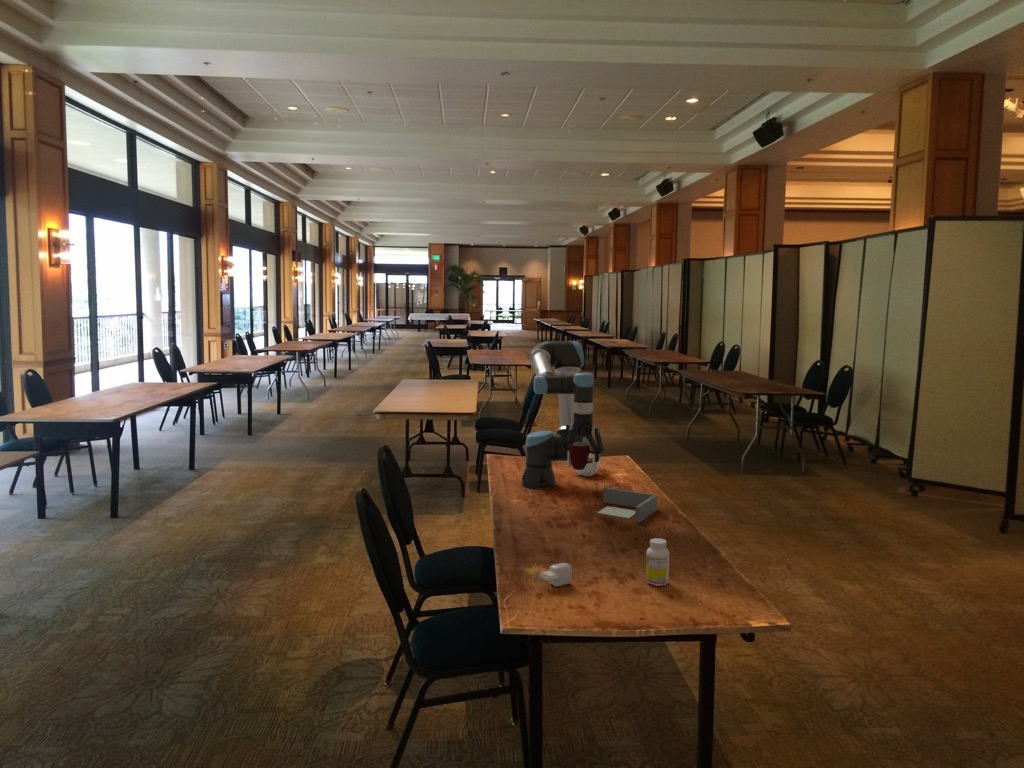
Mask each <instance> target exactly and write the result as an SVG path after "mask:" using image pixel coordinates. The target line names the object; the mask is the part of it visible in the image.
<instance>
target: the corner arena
mask: <svg viewBox="0 0 1024 768" xmlns="http://www.w3.org/2000/svg"><path fill="white" fill-rule="evenodd" d="M602 491H603V493H602V494H603V495H602V498H603V499H602V500H603V501H602V503H604V504H612V505H617V506H622V507H628V508H629V507H630V508H635V510H634V509H627V508H620V507H614V506H605V507H603V508H602V509H600V510H599V511H597V514H600V515H607V516H612V517H617V518H622V519H630V518H632V517H633V516H634V523H636V524H640V523H641V522H643V521H644V520H645V519H647V518H648V517H650V516H652V514H654V513H655V512H657V511H658V494H654V493H648V492H640V491H633V490H627V489H620V488H614V487H613V488H612V487H607V486H604V487H603V490H602ZM656 510H657V511H656ZM649 515H650V516H649Z"/></svg>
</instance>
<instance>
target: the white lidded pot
mask: <svg viewBox="0 0 1024 768" xmlns="http://www.w3.org/2000/svg"><path fill="white" fill-rule="evenodd" d="M592 460H593V454H591V453H589V456H588V461H592ZM600 463H601V455H600V454H599V462H597V469H596V470H594V471H593V470H592V463H587V464H586V466H585V468H584V469H583V470H575V471H576V473H577V474H578V475H579V476H580V475H583V476H582V477H593V476H594V475H595V474H596V473H597V472H598V470H599V468H600ZM592 475H593V476H592Z"/></svg>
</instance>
